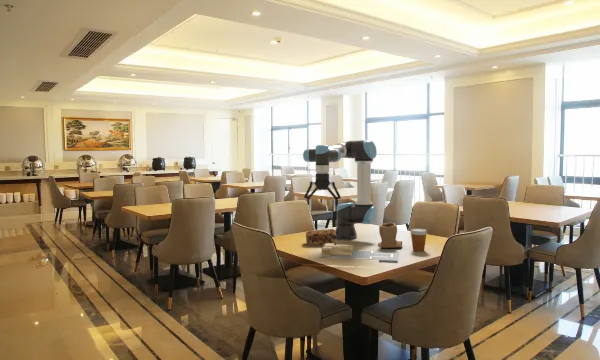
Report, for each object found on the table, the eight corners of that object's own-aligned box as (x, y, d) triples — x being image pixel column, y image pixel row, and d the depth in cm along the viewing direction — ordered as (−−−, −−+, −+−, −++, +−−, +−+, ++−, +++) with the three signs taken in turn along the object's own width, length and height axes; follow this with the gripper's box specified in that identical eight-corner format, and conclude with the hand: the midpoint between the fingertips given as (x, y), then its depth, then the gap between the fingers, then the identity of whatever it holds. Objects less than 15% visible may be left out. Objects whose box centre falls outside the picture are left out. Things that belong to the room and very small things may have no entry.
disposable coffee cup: (407, 248, 256) (407, 228, 255) (423, 248, 257) (423, 228, 256) (413, 252, 246) (413, 231, 246) (429, 251, 247) (429, 231, 246)
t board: (324, 250, 253) (324, 248, 253) (397, 253, 244) (397, 251, 244) (318, 259, 234) (318, 257, 234) (397, 262, 225) (397, 260, 225)
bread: (335, 243, 273) (335, 228, 272) (336, 247, 262) (336, 231, 261) (306, 243, 273) (305, 228, 273) (305, 247, 263) (305, 231, 262)
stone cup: (378, 249, 254) (378, 224, 253) (376, 245, 265) (376, 221, 264) (404, 250, 252) (405, 224, 251) (402, 245, 264) (402, 221, 263)
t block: (326, 249, 251) (326, 243, 251) (353, 250, 248) (353, 243, 247) (321, 256, 235) (321, 249, 235) (350, 257, 232) (350, 250, 232)
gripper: (299, 173, 238) (299, 211, 239) (344, 173, 234) (344, 212, 235) (301, 172, 246) (301, 209, 247) (345, 172, 242) (345, 210, 243)
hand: (322, 211), depth 241 cm, fingers open, 13 cm apart
